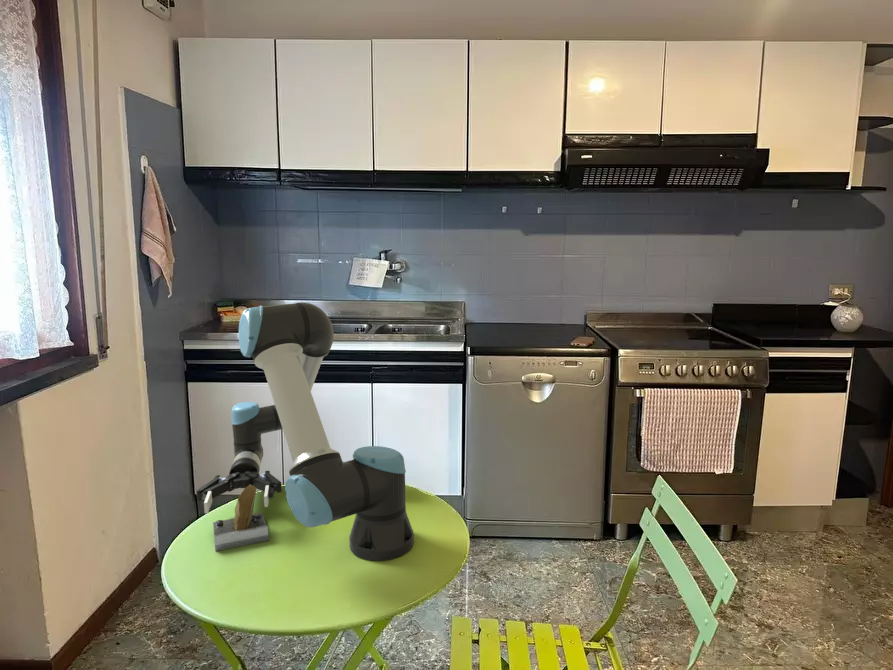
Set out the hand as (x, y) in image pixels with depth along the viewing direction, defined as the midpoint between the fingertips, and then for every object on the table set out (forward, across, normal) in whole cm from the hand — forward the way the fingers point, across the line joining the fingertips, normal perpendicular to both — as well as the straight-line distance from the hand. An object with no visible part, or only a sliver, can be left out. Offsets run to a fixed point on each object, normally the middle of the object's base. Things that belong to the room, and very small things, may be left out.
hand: (236, 504), depth 143 cm
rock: (-4, 0, -8) cm, 8 cm away
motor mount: (-3, 0, -9) cm, 9 cm away
